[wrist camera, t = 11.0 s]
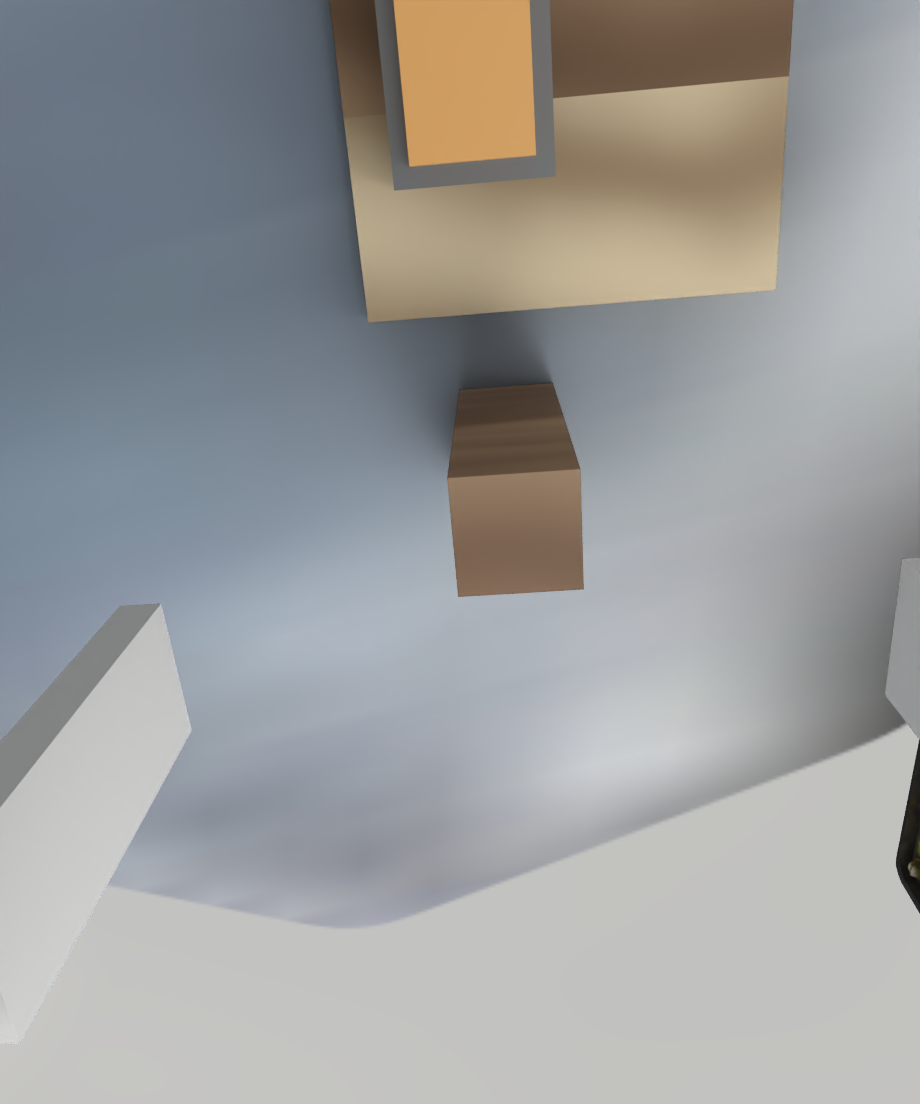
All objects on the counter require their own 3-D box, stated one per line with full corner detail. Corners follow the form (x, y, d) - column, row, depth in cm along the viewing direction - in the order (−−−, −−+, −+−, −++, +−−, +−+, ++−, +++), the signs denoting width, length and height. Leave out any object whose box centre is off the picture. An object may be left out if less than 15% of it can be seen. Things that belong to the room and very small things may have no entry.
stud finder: (370, -163, 21) (346, -235, 18) (534, -182, 21) (543, -258, 17) (405, 189, 24) (390, 191, 21) (547, 176, 24) (558, 176, 20)
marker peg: (459, 389, 28) (447, 478, 20) (552, 382, 28) (580, 469, 19) (466, 477, 29) (458, 596, 21) (556, 472, 29) (583, 589, 21)
